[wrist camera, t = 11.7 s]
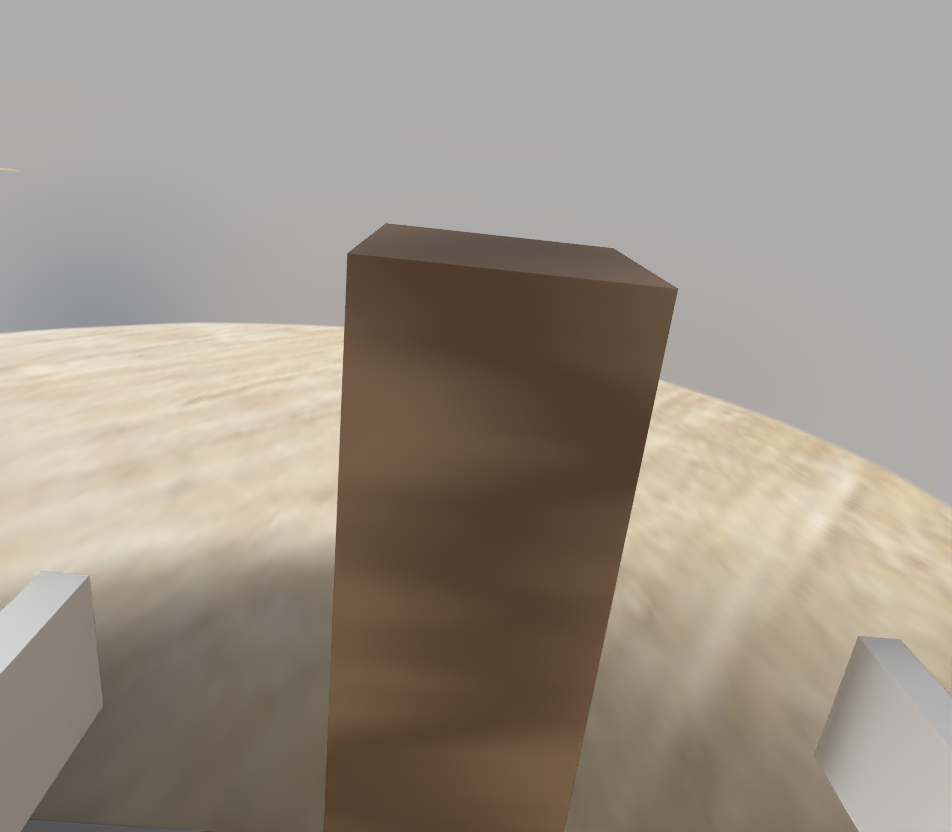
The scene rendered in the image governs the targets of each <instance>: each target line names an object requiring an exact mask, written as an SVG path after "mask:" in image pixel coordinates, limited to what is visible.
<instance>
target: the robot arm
mask: <svg viewBox="0 0 952 832" xmlns="http://www.w3.org/2000/svg"><path fill="white" fill-rule="evenodd" d="M102 707H103V699H102V689H101V680H100V671H99V661H98V652H97V642H96V633H95V623H94V614H93V605H92V595H91V586H90V576H89V575H83V574H71V573H58V572H46V571H41V572H40V573H39V574H38V575H37V576H36V577H35V578H34V579H33V580H32V581H31V582H30V583H29V584H28V585H27V586H26V587H25V588H24V589H23V590H22V591H21V592H20V593H19V594H18V595H17V596H16V597H15V598H14V599H13V600H12V601H11V602H9V603H8V604H7V605H6V606H5V607H4V608H3V609H2V610H1V611H0V832H21V830H22V829H23V827H24V826H25V824H26V823H27V821H28V820H29V818H30V817H31V815H32V814H33V812H34V811H35V809H36V808H37V806H38V805H39V803H40V801H41V800H42V798H43V797H44V795H45V794H46V792H47V791H48V789H49V788H50V786H51V785H52V783H53V782H54V780H55V779H56V777H57V776H58V774H59V773H60V771H61V770H62V768H63V767H64V765H65V764H66V762H67V760H68V759H69V757H70V756H71V754H72V753H73V751H74V750H75V748H76V747H77V745H78V744H79V742H80V741H81V739H82V738H83V736H84V735H85V733H86V732H87V730H88V729H89V727H90V726H91V724H92V723H93V721H94V719H95V718H96V716H97V715H98V713H99V712H100V710H101V709H102ZM814 756H815V758H816V760H817V762H818V763H819V765H820V767H821V768H822V770H823V772H824V773H825V775H826V777H827V779H828V780H829V782H830V784H831V785H832V787H833V789H834V791H835V792H836V794H837V796H838V797H839V799H840V801H841V802H842V804H843V806H844V808H845V809H846V811H847V813H848V814H849V816H850V818H851V820H852V821H853V823H854V825H855V826H856V828H857V830H858V831H859V832H952V696H951V695H950V694H949V693H948V692H947V691H946V690H945V688H944V687H943V686H942V685H941V684H940V683H939V682H938V681H937V680H936V679H935V677H934V676H933V675H932V674H931V673H930V672H929V671H928V670H927V669H926V667H925V666H924V665H923V664H922V663H921V662H920V661H919V660H918V659H917V658H916V656H915V655H914V654H913V653H912V652H911V651H910V650H909V649H908V648H907V647H906V645H905V644H904V643H903V642H902V641H901V640H899V639H886V638H874V637H861V636H858V638H857V641H856V643H855V646H854V649H853V651H852V654H851V657H850V660H849V662H848V665H847V668H846V671H845V673H844V676H843V679H842V681H841V684H840V687H839V690H838V692H837V695H836V698H835V700H834V703H833V706H832V709H831V711H830V714H829V717H828V720H827V722H826V725H825V728H824V730H823V733H822V736H821V739H820V741H819V744H818V747H817V750H816V752H815V755H814Z"/></svg>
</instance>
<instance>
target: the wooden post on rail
mask: <svg viewBox="0 0 952 832" xmlns="http://www.w3.org/2000/svg"><path fill="white" fill-rule="evenodd" d="M677 291H678V289H677V288H676V287H674V286H673V285H671V284H669V283H668V282H666V281H665V280H663V279H661V278H660V277H658V276H657V275H655V274H653V273H652V272H650V271H649V270H647V269H645V268H644V267H642V266H641V265H639V264H637V263H636V262H634V261H633V260H631V259H629V258H628V257H626V256H625V255H623V254H622V253H620V252H618V251H617V250H615V249H614V248H606V247H596V246H587V245H577V244H569V243H559V242H551V241H541V240H533V239H523V238H515V237H505V236H496V235H487V234H478V233H469V232H460V231H451V230H441V229H432V228H423V227H414V226H405V225H396V224H387V223H386V224H385V225H383V226H382V227H381V228H379V229H378V230H377V231H376V232H374V233H373V234H372V235H371V236H369V237H368V238H367V239H365V240H364V241H363V242H361V243H360V244H359V245H358V246H356V247H355V248H354V249H352V251H350V252H349V253H348V255H347V280H346V305H345V329H344V353H343V377H342V402H341V426H340V451H339V475H338V500H337V524H336V549H335V573H334V597H333V622H332V646H331V671H330V695H329V720H328V744H327V769H326V793H325V817H324V832H564V827H565V822H566V818H567V813H568V808H569V803H570V799H571V794H572V789H573V785H574V780H575V775H576V770H577V766H578V761H579V756H580V751H581V747H582V742H583V737H584V732H585V728H586V723H587V718H588V713H589V709H590V704H591V699H592V694H593V690H594V685H595V680H596V675H597V671H598V666H599V661H600V656H601V652H602V647H603V642H604V637H605V633H606V628H607V623H608V619H609V614H610V609H611V604H612V600H613V595H614V590H615V585H616V581H617V576H618V571H619V566H620V562H621V557H622V552H623V547H624V543H625V538H626V533H627V528H628V524H629V519H630V514H631V509H632V505H633V500H634V495H635V490H636V486H637V481H638V476H639V471H640V467H641V462H642V457H643V453H644V448H645V443H646V438H647V434H648V429H649V424H650V419H651V415H652V410H653V405H654V400H655V396H656V391H657V386H658V381H659V377H660V372H661V367H662V362H663V358H664V353H665V348H666V343H667V339H668V334H669V329H670V324H671V320H672V314H673V310H674V305H675V301H676V296H677ZM21 832H207V831H193V830H178V829H163V828H149V827H134V826H120V825H105V824H90V823H76V822H61V821H46V820H32V819H29V820H28V821H27V823H26V824H25V826H24V827H23V829H22V830H21Z"/></svg>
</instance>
